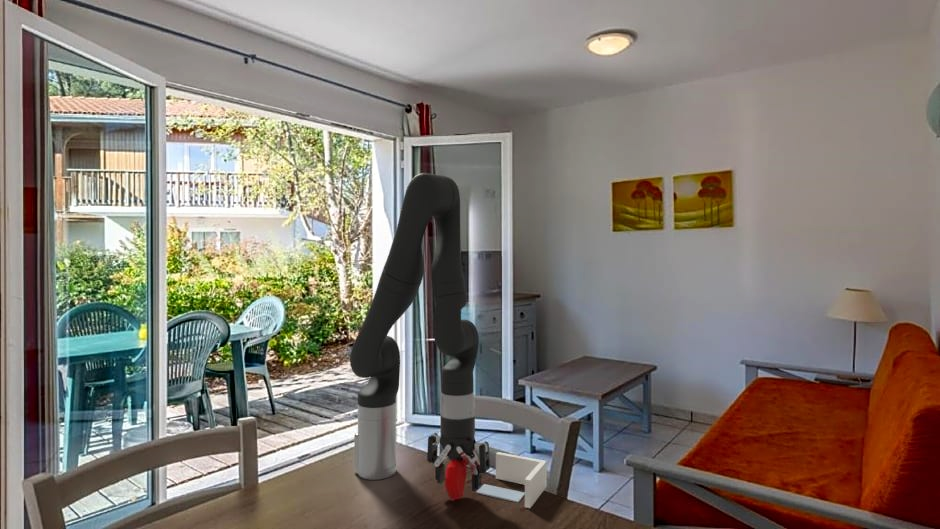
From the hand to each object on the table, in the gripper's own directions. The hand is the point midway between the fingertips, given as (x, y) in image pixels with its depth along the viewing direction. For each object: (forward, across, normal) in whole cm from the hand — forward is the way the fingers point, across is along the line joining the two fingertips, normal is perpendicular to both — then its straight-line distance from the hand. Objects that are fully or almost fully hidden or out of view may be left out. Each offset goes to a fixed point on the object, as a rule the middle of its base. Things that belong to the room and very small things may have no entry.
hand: (458, 486), depth 114 cm
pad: (+3, +7, +7) cm, 10 cm away
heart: (+3, 0, 0) cm, 3 cm away
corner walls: (+3, +9, +9) cm, 13 cm away
